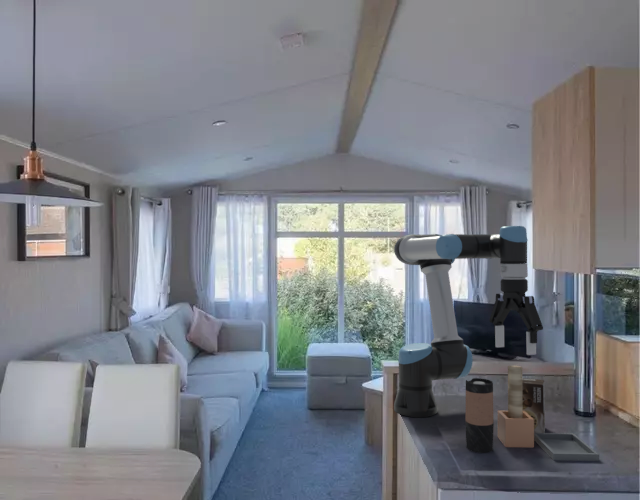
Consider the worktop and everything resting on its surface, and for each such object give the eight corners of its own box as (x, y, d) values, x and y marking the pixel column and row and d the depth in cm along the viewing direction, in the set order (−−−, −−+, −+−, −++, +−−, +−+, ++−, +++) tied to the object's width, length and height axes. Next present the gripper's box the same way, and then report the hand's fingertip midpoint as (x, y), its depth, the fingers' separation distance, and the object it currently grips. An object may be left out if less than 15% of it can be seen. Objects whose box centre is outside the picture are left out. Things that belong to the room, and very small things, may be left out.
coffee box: (545, 430, 168) (545, 379, 168) (544, 437, 163) (544, 384, 163) (514, 426, 172) (514, 376, 172) (512, 432, 166) (512, 381, 166)
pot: (497, 440, 160) (497, 410, 160) (524, 440, 160) (524, 410, 160) (505, 450, 152) (505, 419, 152) (534, 450, 152) (533, 419, 152)
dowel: (506, 439, 158) (506, 365, 158) (520, 439, 158) (519, 365, 158) (510, 444, 154) (510, 368, 154) (524, 444, 154) (524, 368, 154)
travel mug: (495, 457, 147) (494, 385, 147) (466, 455, 148) (466, 384, 148) (491, 447, 154) (491, 378, 154) (464, 445, 156) (464, 377, 156)
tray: (532, 441, 159) (532, 432, 159) (573, 442, 158) (573, 433, 158) (553, 463, 143) (553, 453, 143) (599, 464, 142) (599, 454, 142)
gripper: (477, 277, 167) (478, 345, 167) (533, 280, 144) (535, 359, 143) (497, 276, 170) (498, 343, 169) (555, 279, 146) (557, 357, 146)
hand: (515, 350), depth 156 cm, fingers open, 13 cm apart
